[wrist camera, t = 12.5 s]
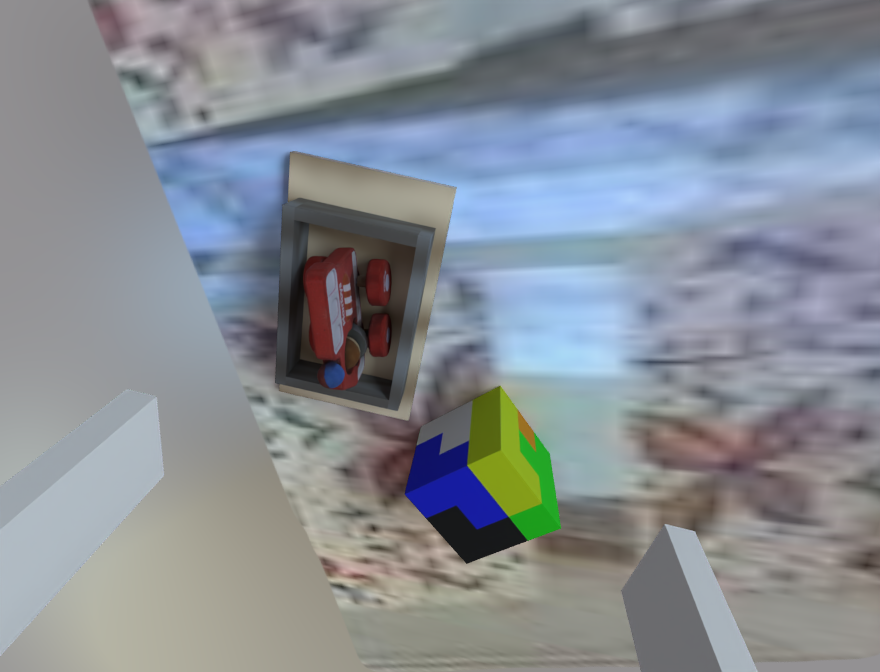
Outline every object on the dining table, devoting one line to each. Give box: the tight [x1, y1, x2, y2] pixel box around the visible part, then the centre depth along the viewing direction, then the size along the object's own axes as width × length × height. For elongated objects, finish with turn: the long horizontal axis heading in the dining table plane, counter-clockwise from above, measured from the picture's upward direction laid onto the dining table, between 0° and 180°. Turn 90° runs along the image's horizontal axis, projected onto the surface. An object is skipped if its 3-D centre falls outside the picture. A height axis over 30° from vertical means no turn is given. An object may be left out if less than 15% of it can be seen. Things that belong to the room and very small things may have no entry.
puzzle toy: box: [405, 386, 561, 564], centre depth 45 cm, size 10×10×10 cm
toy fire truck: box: [303, 247, 392, 390], centre depth 39 cm, size 7×12×10 cm, turn 179°
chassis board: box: [275, 151, 457, 421], centre depth 42 cm, size 24×14×4 cm, turn 169°
